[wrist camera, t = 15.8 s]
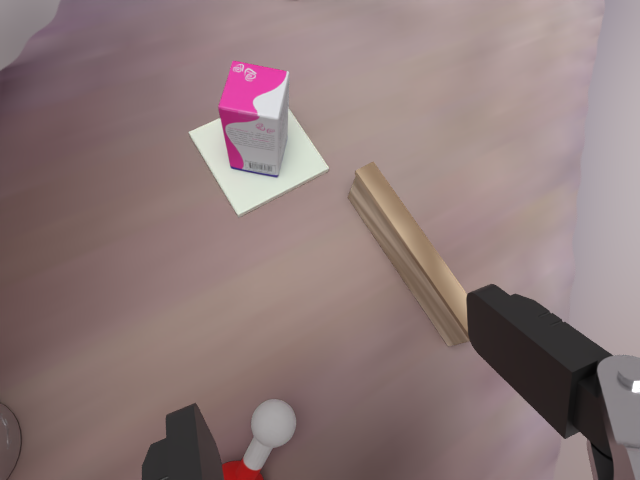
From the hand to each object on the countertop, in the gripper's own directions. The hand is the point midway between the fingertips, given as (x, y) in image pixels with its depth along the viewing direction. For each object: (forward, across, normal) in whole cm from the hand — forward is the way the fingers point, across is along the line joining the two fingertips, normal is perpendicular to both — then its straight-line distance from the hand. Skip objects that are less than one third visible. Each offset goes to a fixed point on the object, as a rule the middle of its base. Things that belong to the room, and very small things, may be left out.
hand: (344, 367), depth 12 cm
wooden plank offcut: (+30, -16, +19) cm, 39 cm away
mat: (+43, -5, +6) cm, 44 cm away
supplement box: (+42, -5, +6) cm, 43 cm away
